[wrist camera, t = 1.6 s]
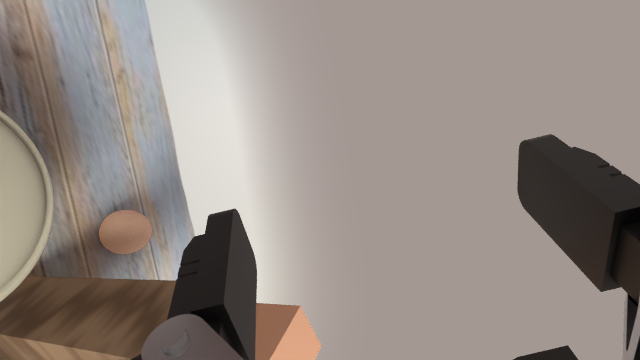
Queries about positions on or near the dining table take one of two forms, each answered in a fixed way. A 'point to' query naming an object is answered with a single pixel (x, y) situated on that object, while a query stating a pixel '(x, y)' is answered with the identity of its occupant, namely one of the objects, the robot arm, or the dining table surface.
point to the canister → (21, 205)
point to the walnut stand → (81, 318)
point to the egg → (125, 231)
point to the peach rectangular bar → (284, 334)
